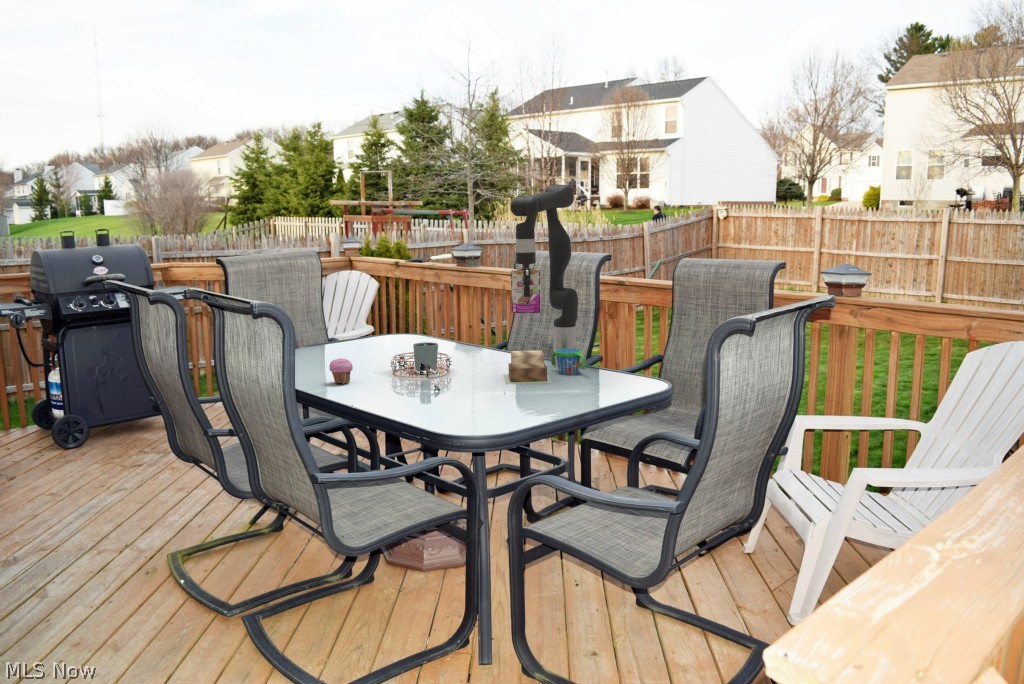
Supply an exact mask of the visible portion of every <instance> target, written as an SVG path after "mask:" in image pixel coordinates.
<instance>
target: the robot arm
mask: <svg viewBox="0 0 1024 684" xmlns="http://www.w3.org/2000/svg"><path fill="white" fill-rule="evenodd" d="M574 199H575V192H574V190H573V187H571V186H570V185H568V184H553V185H548V186H546V188H545V190H544V192H539V193H535V194H531V195H526V196H519V197H517V196H516V197H514V199H512V201H511V202H510V208H509V209H510V211H511V214H512V215H514V216H516V217H526V218H525V220H524V221H523V222H519V223H517V224H516V226H515V244H514V245H515V246H514V247H515V264H516V265H521V266H522V267H521V268H520V270H523V273H522V281H523V286H524V297H529V296H530V284H531V283H530V280H531V276H530V272H531V271H530V270H531V269H532V268H530V265H534V264H536V257H537V256H536V241H535V240H536V239H535V232H536V231H535V229H536V228H535V227H536V222H537V218H538V215H539V213H541V212H543V211H544V212H545V213H546V221H547V222H546V223H547V232H548V233H547V234H548V235H547V236H548V256H549V290H548V291H549V293H548V294H549V295H548V297H549V304H550V306H551V308H552V309H555V310H559V311H561V315H560V316H559V317H556V318H555V319H554V320H553V353H554V352H555V351H556V350H559V349H578V348H577V347H578V346H577V344H576V343H577V338H576V336H577V335H576V334H577V333H576V332H577V331H576V329H577V319H578V314H579V313H578V312H579V296H578V293H577V291H576V289H574V288H572V287H571V288H570V287H564V275H565V271H566V269H567V267H568V265H569V263H570V262H571V258H572V242H571V241H572V240H571V237H570V236H569V234H568V232H567V231H566V229H565V228H564V226H563V225H562V223H561V221H560V218H559V215H558V209H565V208H566V209H567V208H569V207H571V206H572V205H573V203H574V201H575V200H574ZM523 275H524V278H523ZM525 281H529V282H525ZM555 362H556V365H554V366H557V367H556V368H558V365H557V359H556V356H555Z"/></svg>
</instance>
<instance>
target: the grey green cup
mask: <svg viewBox="0 0 1024 684" xmlns="http://www.w3.org/2000/svg"><path fill="white" fill-rule="evenodd" d="M424 344H428V345H429V346H421V345H424ZM412 346H413V353H414V362H415V364H414V366H415V371H416V370H417V371H420V367H421V363H422V364H428V365H429V366H430V368H431V369H432V370H436V369H437V370H438V352H439V351H438V350H439V344H438V343H437V342H428V341H427V342H426V341H425V342H417V343H413V345H412Z"/></svg>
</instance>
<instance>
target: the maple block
mask: <svg viewBox="0 0 1024 684" xmlns="http://www.w3.org/2000/svg"><path fill="white" fill-rule="evenodd" d="M510 363H511V365H512V368H513V369H519V368H544V363H545V353H544V352H543V350H541V349H540V350H539V349H538V350H510Z"/></svg>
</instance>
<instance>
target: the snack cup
mask: <svg viewBox="0 0 1024 684" xmlns="http://www.w3.org/2000/svg"><path fill="white" fill-rule="evenodd" d="M555 356H556V359H557V365H558V367H557V370H558V371H557V372H558V374H560V375H565V376H567V375H568V376H570V375H571V376H572V375H577V374H578V373H579V368H580V369H581V370H585V368H586V367H587V364H586V363H587V362H586V358H585V355H584V353H582V350H581V349H580V348H577V349H559V350H556V351H555V352H554V351H553V353H552V355H551V359H550V360H551V361H550V363H551V365H552V366H554V365H556V362H555ZM580 359H581V360H580ZM580 361H581V362H580ZM580 363H581V367H580Z"/></svg>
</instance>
